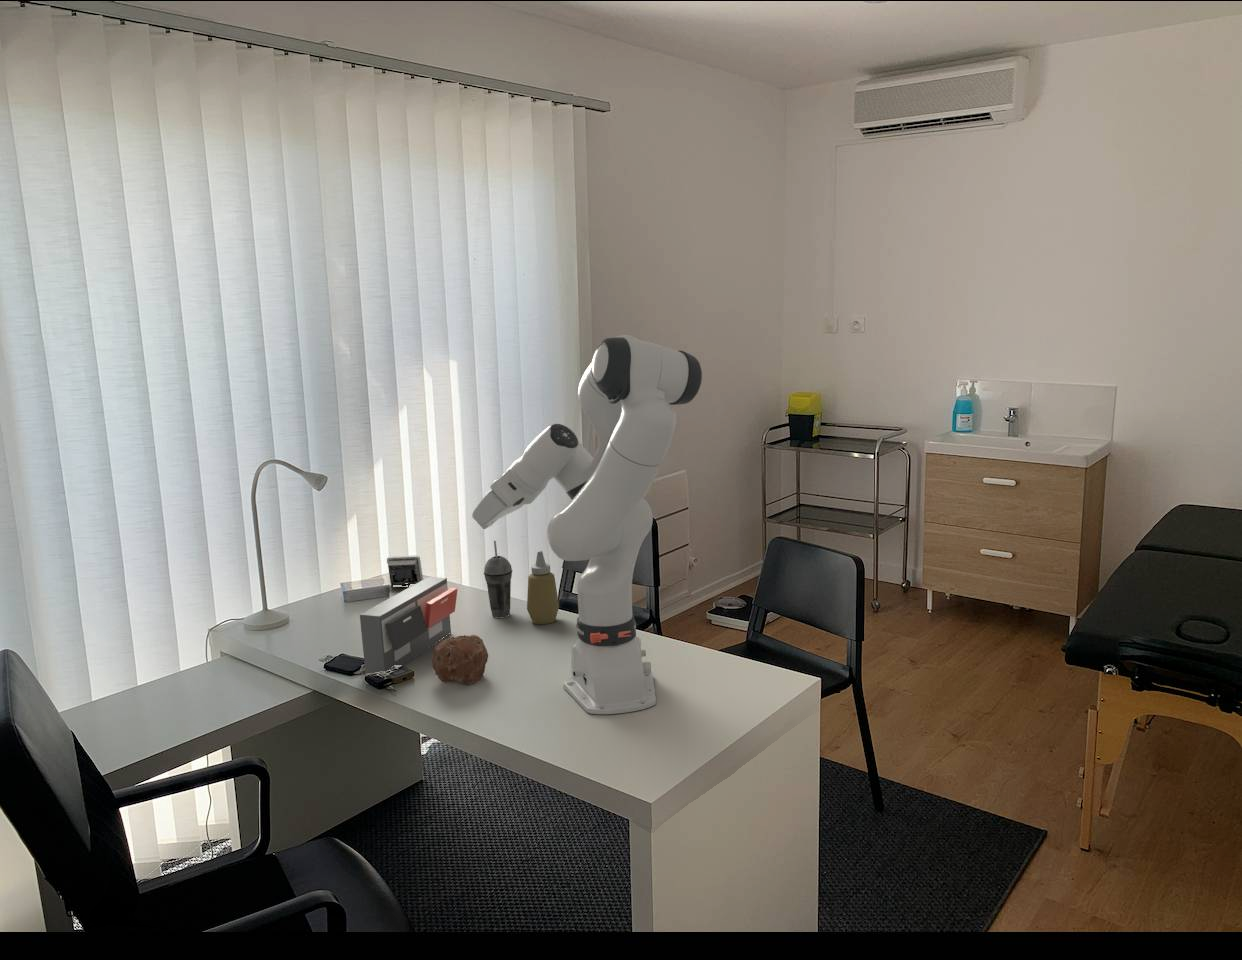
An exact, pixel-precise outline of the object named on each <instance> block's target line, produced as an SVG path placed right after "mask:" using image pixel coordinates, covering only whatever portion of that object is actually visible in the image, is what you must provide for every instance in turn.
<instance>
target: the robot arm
mask: <svg viewBox="0 0 1242 960" xmlns="http://www.w3.org/2000/svg"><path fill="white" fill-rule="evenodd" d="M702 370H703V369H702V366H701V363H700V361H699V359H698V358H697V357H695V356H694V355H692V354H690V353H689V352H686V351H684V350H676V349H674V348H671V347H667V346H664V345H660V344H657V343H654V342H651V341H646V340H640V338H637V337H635V336H633V335H630V334H621V335H620V334H619V335H617V336H614V337H607V338H604V339H603V340H601V342H600V343H598V345H597V346H596V347H595V350H594V351H593V355H592V358H591V362H590V363H589V365H588V366H587V368H586V370H585V371H584V372H583V375H582V377H581V379H580V380H579V384H578V391H577V395H578V401H579V403H580V406H581V409H582V411H583V412H584V414H585V415H586V417H587V419H588V420H589V422H590V424H591V426H592V428H593V430H594V433H595V435H596V439H597V443H598V444H597V445H598V446H597V449H596V452H595V454H594V456H592V455H591V454H590V452H589V451H588V450H587V449H585V447H584V446H583V445H582V443H581V442H580V441H579V440H578V437H577V435H576V433H575V432H574V431H573V430H572V429H571V428H569V427H568V426H566V425H564V424H561V423H553V424H550V425H549V426H548V427H547V428H545V429H544V430H543V431H542V432H541V433H539V434H538V435H537V436H536V437H535V438H534V439H533V440H532V441H531V442H530V443H529V444H528V445H527V447H526V448H525V449H524V451H523V453H522V455H521V456H520V457H518V459H515V461H513V462H512V464H511V465H510V466H509V467H508V468H507V469H506V470H505V472H504V473H502V475H500V476H499V477H498V478H496V479H495V480H494V481H493V482H492V483H491V484H490V486H489V487H490V490H489V491H488V492H487V493H486V494H485V495H484V497H483V498H482V499H481V500H480V502H479V504H477V506H476V507H475V509H474V510H473V512H472V515H471V517H472V519H474V521H475V522H476V524H478V525H479V526H480V527H481V528H482V529H483V530H486V529H488V528H490V527H492V526H493V525H494V523H496V522H497V521H499V520H500V519H501V518H503V517H505V516H507V515H509V514H511V513H513V512H515V511H517V510H519V509H521V508H522V507H524V505H530V504H532V503H534V501H535V500H536V499H537V498H538V497H539V495H540V494H541V493H543V491H544V490H545V489H546V487H547V485H548V483H549V482H550V480H552V479H554V480H555V481H556V482H557V483H558V484H559V485H560V487H562V489H563V490H564V491H565V494H567V495H568V497H569V498H570V499H571V500H570V502H569V503H568V504H566V506H565V507H563V508H562V509H561V510H560V511H559V512H558V513H557V514H555V515H553V517H552V518H551V519H550V521H549V523H548V526H547V534H546V535H547V542H548V544H549V546H550V548H551V549H550V550H551V551H552V552H553V553H554V554H555V556H557V558H559V559H561V560H563V561H566V562H577V561H587V560H589V561H588V564H587V565H586V568H585V569H584V571H583V572H582V574H581V575H580V576H579V578H578V580H577V584H576V585H577V587H576V589H577V591H576V592H577V609H578V617H577V618H576V632H577V633H576V634H577V637H578V638H577V639H576V641H575V643H574V644H572V646H571V647H570V668H571V669H570V676H571V677H570V678H568V679H565V680H564V681H563V689H565V691H566V692H567V693H568V694H569V695H570V696H571V697H572V698H573V699H574V700H575V701H576V703H578V704H579V706H580V707H581V708H582V709H583V710H584V711H585V712H586V713H588V714H590V715H591V714H593V715H615V714H625V713H631V712H637V711H641V710H645V709H649V708H652V707H653V706H655V705H657V698H656V692H655V683H654V676H653V672H652V665H651V664H652V663H651V661H643V657H644V658H645V657H647V651H646V649H642V641H641V640H642V639H641V638H640V637H638V636H637V632H636V631H637V629H636V628H637V623H636V620H635V616H634V614H633V577H634V570H635V565H636V564H637V558H638V556H639V552H640V549H641V546H642V543H643V541H644V540H645V538H646V537H647V536H648V534H649V533H650V531H651V529H652V528H653V527H652V526H653V521H654V517H653V511H652V508H651V506H650V505H649V503H648V501H647V499H645V497H646V495H647V494H648V493H649V491H650V490H651V487H652V485H653V484H654V481H655V478H656V477H657V474H658V473H659V470H660V468H661V466H662V464H663V463H664V459H665V457H666V455H667V453H668V450H669V448H670V445H671V442H672V439H673V436H674V432H675V428H676V424H677V414H676V411H675V409H674V408H673V406H675V405H676V406H679V405H685V404H688V403H691V401H692V400H694V398H695V397H696V396H697V394H698V393H699V391H700V388H701V385H702V381H703V380H702V379H703V371H702Z"/></svg>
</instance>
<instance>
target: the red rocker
mask: <svg viewBox="0 0 1242 960" xmlns="http://www.w3.org/2000/svg"><path fill="white" fill-rule="evenodd" d="M457 598H458V588H457V587H455V586H453V587H450V588H449V589H448V590H447V591H446V592H444V593H442V594H441V595H439V596H437V597H436V598H434V599H432V600H430V601H429V602H427V604H426V613H425V624H426V628H430V627H431V626H433V625H434V624H436V623H438V622H439V621H441V620H442V619H444V618H445V617H447V616H448V615H450V616H451V615H452V614H453V613H454V612H455V611H456V605H457Z"/></svg>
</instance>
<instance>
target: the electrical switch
mask: <svg viewBox="0 0 1242 960" xmlns="http://www.w3.org/2000/svg"><path fill="white" fill-rule="evenodd" d="M421 563H422V561H421V557H420V556H419V555H418V554H417V555H416V554H415V555H398V556H397V555H395V556H388V557H387V559H386V564H387V569H388V573H389V582H390V583H389V584H390V585H391V588H392V586H393V585H402V584H403V585H405V583H408V585H409V584H416V583H418V582H420V581H422V580H424V576H423V570H422V569H423V568H422V564H421Z"/></svg>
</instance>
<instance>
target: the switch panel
mask: <svg viewBox="0 0 1242 960" xmlns="http://www.w3.org/2000/svg"><path fill="white" fill-rule="evenodd" d="M447 590H449V589H448V578H447V577H436V576H435V577H434V576H428V577H425V578H423V580H422V581H420V582H418V583H416V584H415V585H413V586H411V587H407V588H406V589H403V590H402V591H400V592H398V593H397V594H394V595H393V596H391V597H389V598H388V599H387V598H386V600H384V601H382V602H380V603H378V604H376V605H375V606H373V607H371V608H369V609H367V610H366V611H364V612H361V613H360V614H359V620H360V621H359V622H360V630H361V631H360V632H361V643H362V650H363V651H362V652H363V661H364V670H365V671H364V672H365V673H371V672H379V671H387V670H388V669H390V668H391V667H392V666H394V665H402V667H404V666H406V665H407V664H408V663H410V662H411V661H413V660H414V659H416V658H417V657H419V656H420V655H422V654H423V653H424V652H426V651H428V650H429V649H430V648H432V647H433V646H434V644H435V643H436V642H438V641H439V640H441V639H442V638H443V637H445V636H446V635H448V634H449V633H451V634H452V627H451V626H452V625H451V617H450V616H451V614H450V615H448V616H447V617H445V618H444V619H442V620H441V621H439V622H438V623H436V624H434V625H433V626H431V627H430V628H427V631H426V632H424V633H423V634H421V635H420V636H418V637H417V638H415V639H414V640H412V641H410V642H409V643H407V644H406V645H404V646H403V647H401V648H400V649H398V650H393V649H392V645H391V642H390V638H389V635H388V631H387V627H386V623H388V622H390V621H392V620H393V619H395V618H397V617H398V616H400V615H402V614H403V613H405V612H407V611H409V610H410V609H412V608H414V607H415V606H421V610H422V613H423V617H424V621H425V613H426V604H427V602H429V601H430V600H432V599H434V598H436V597H437V596H439V595H441V594H442V593H444V592H446V591H447ZM449 635H450V634H449ZM449 635H448V636H449ZM446 637H447V636H446ZM446 637H445V638H446ZM443 639H444V638H443ZM443 639H442V640H443ZM442 640H441V641H442ZM439 642H440V641H439ZM439 642H438V643H439ZM436 644H437V643H436ZM436 644H435V645H436ZM432 645H433V646H432ZM431 646H432V647H431ZM429 647H430V648H429ZM428 648H429V649H428ZM425 650H426V651H425ZM365 673H364V674H365Z"/></svg>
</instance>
